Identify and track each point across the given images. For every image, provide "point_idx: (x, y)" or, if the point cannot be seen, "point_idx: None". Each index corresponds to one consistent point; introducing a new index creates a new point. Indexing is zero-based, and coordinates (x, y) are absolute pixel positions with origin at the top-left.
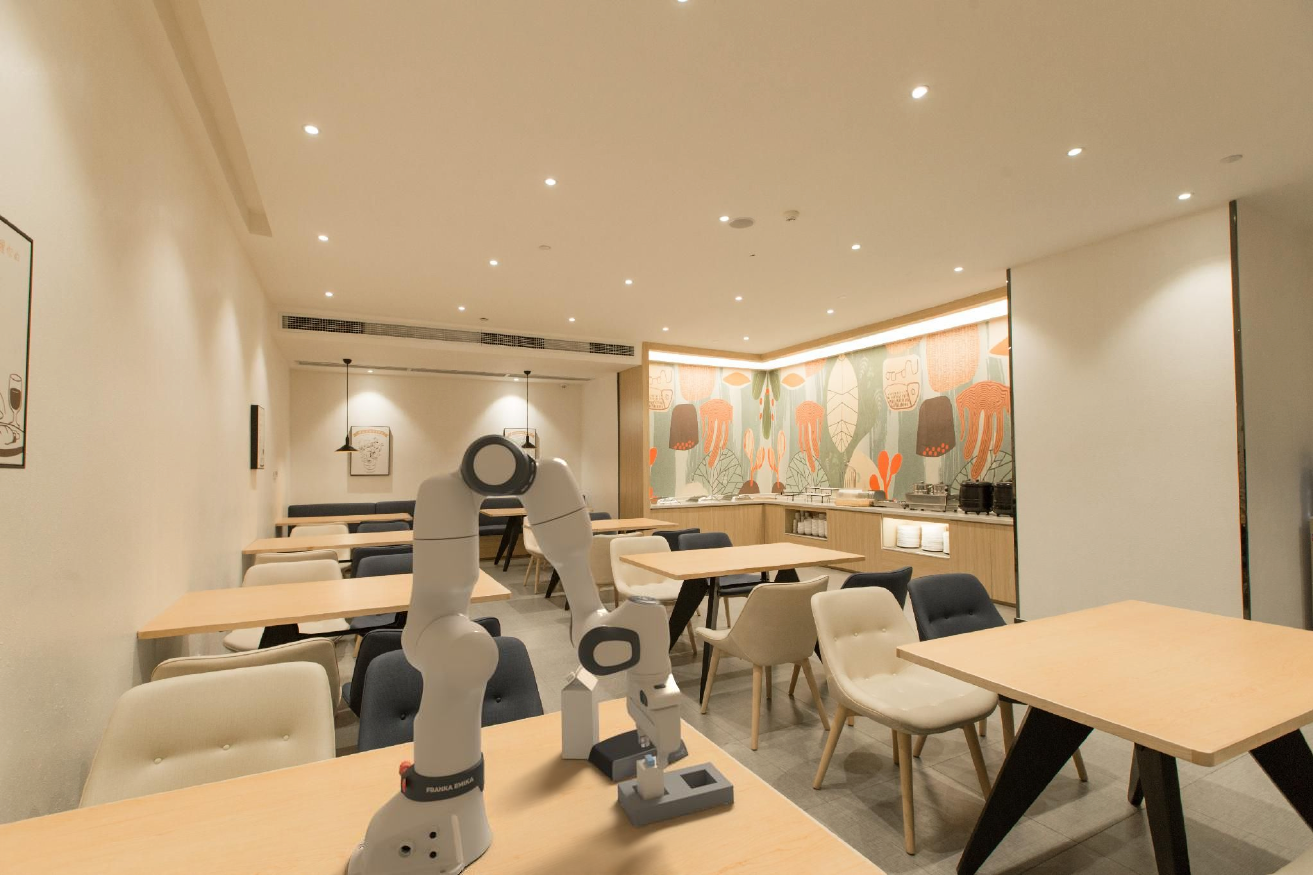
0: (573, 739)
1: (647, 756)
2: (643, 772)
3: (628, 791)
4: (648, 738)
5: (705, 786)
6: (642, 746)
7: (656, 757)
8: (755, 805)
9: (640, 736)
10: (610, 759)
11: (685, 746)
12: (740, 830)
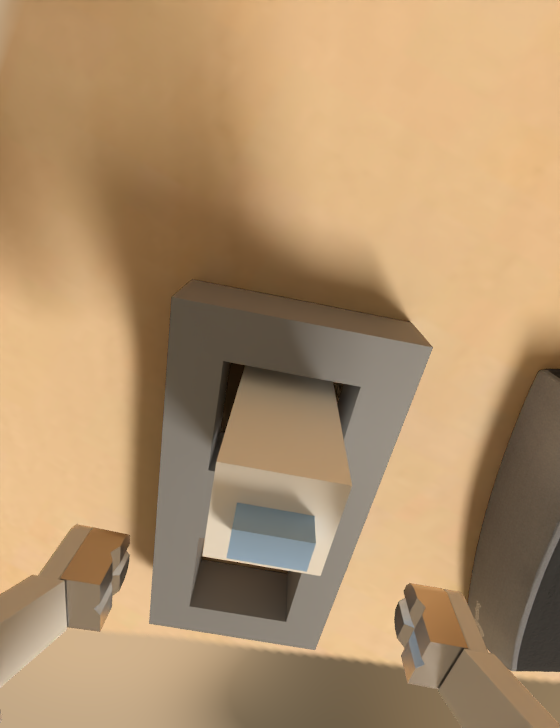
0: None
1: (291, 549)
2: (220, 452)
3: (330, 352)
4: (405, 665)
5: (188, 572)
6: (409, 587)
7: (87, 584)
8: (124, 598)
9: (462, 652)
10: None
11: (487, 647)
12: (35, 519)
